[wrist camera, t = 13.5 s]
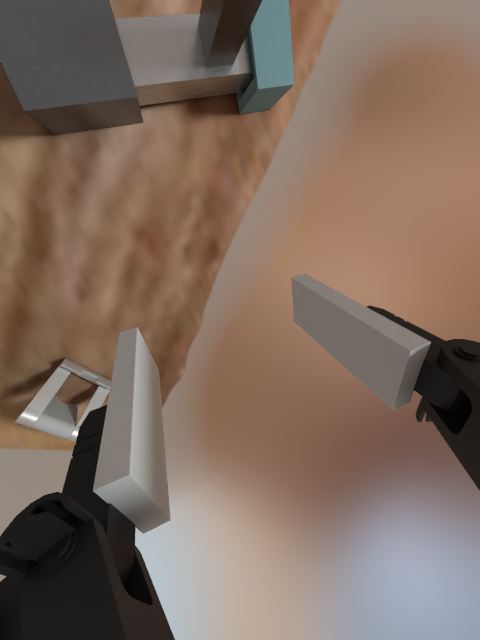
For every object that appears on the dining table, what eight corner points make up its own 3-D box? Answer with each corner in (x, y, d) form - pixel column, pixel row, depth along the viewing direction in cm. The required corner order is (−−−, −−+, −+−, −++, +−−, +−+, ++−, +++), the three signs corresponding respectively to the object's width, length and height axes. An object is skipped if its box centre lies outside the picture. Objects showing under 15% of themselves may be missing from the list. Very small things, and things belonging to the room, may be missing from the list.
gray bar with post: (116, 108, 27) (55, -34, 12) (98, 52, 25) (-7, -209, 10) (262, 89, 30) (362, -42, 15) (256, 38, 28) (367, -175, 13)
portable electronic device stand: (116, 380, 41) (106, 416, 34) (88, 411, 42) (71, 452, 35) (67, 355, 37) (43, 389, 30) (36, 389, 38) (5, 431, 30)
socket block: (239, 114, 31) (258, 89, 25) (226, 26, 28) (244, -29, 21) (269, 109, 32) (294, 84, 26) (260, 23, 28) (286, -31, 22)
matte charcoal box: (55, 135, 27) (23, 111, 21) (18, 51, 24) (-32, -7, 18) (143, 122, 29) (137, 96, 23) (119, 42, 26) (105, -13, 19)
